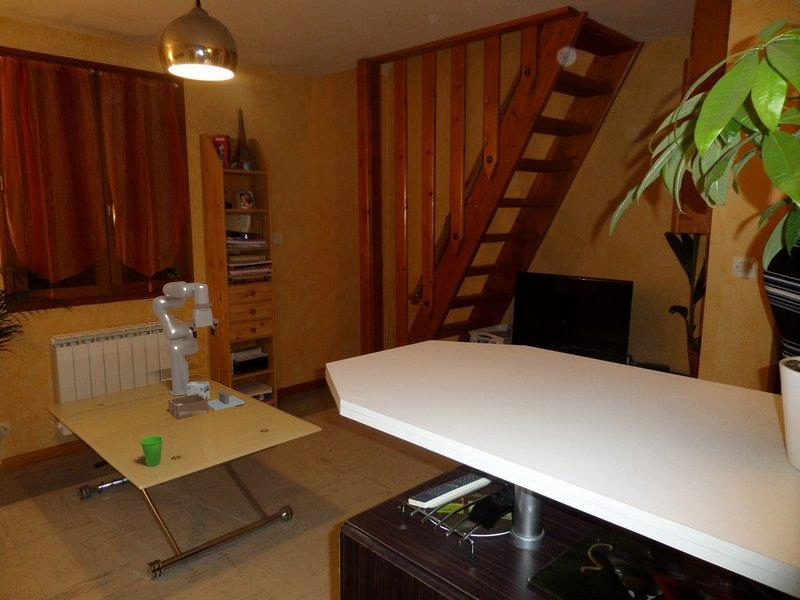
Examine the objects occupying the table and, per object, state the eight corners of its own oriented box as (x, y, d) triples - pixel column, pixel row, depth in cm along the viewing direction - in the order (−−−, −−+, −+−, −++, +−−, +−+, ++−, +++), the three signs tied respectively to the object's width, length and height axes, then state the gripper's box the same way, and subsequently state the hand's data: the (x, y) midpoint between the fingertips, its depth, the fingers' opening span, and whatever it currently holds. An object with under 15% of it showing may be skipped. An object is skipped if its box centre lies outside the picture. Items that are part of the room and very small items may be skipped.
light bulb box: (210, 399, 318) (209, 381, 316) (205, 403, 311) (203, 384, 310) (192, 399, 319) (191, 381, 317) (187, 402, 312) (185, 384, 311)
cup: (137, 466, 232) (134, 442, 230) (154, 458, 240) (152, 434, 238) (152, 470, 228) (150, 445, 227) (169, 461, 236) (167, 437, 235)
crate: (169, 414, 294) (168, 400, 293) (199, 407, 304) (198, 393, 303) (178, 421, 283) (177, 406, 282) (208, 414, 294) (207, 399, 292)
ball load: (173, 412, 294) (173, 403, 293) (183, 410, 297) (182, 401, 296) (177, 414, 290) (176, 405, 289) (186, 412, 293) (185, 403, 293)
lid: (204, 406, 308) (203, 393, 306) (233, 399, 318) (232, 387, 317) (214, 413, 296) (214, 400, 295) (244, 405, 307) (243, 393, 306)
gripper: (214, 303, 312) (216, 333, 314) (183, 307, 301) (186, 338, 303) (219, 305, 306) (221, 335, 309) (188, 309, 295) (190, 340, 298)
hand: (204, 336), depth 306 cm, fingers open, 9 cm apart
